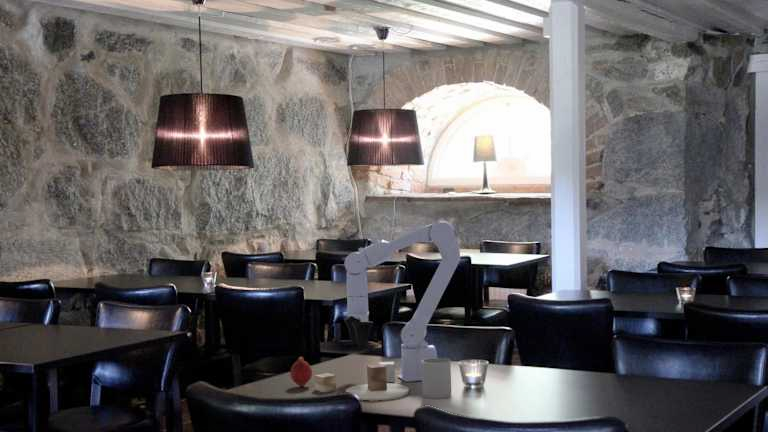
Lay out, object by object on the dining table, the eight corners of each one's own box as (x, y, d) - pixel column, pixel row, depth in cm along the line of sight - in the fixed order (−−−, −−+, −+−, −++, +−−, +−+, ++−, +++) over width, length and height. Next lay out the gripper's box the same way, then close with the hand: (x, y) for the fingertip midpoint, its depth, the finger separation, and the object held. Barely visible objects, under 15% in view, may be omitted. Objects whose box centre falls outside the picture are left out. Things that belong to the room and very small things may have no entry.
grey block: (394, 379, 269) (393, 361, 269) (395, 382, 265) (394, 364, 265) (379, 380, 269) (379, 362, 269) (380, 383, 265) (379, 364, 265)
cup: (417, 398, 244) (416, 362, 244) (436, 390, 253) (435, 355, 253) (443, 400, 241) (441, 363, 240) (461, 392, 249) (460, 357, 249)
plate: (398, 385, 260) (398, 381, 260) (416, 397, 245) (416, 392, 245) (339, 391, 256) (339, 386, 256) (354, 403, 241) (354, 398, 241)
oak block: (328, 388, 261) (327, 373, 261) (336, 390, 258) (335, 375, 258) (315, 390, 259) (314, 375, 259) (323, 392, 255) (322, 377, 255)
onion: (309, 389, 260) (308, 358, 260) (288, 388, 261) (287, 358, 261) (315, 384, 266) (313, 355, 266) (294, 384, 267) (293, 355, 267)
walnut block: (382, 387, 253) (382, 364, 253) (386, 390, 249) (386, 366, 249) (367, 388, 252) (367, 365, 252) (371, 391, 248) (370, 367, 248)
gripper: (337, 294, 276) (338, 342, 277) (349, 299, 262) (351, 350, 263) (361, 292, 278) (363, 340, 279) (375, 297, 264) (376, 348, 265)
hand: (359, 345), depth 271 cm, fingers open, 7 cm apart
